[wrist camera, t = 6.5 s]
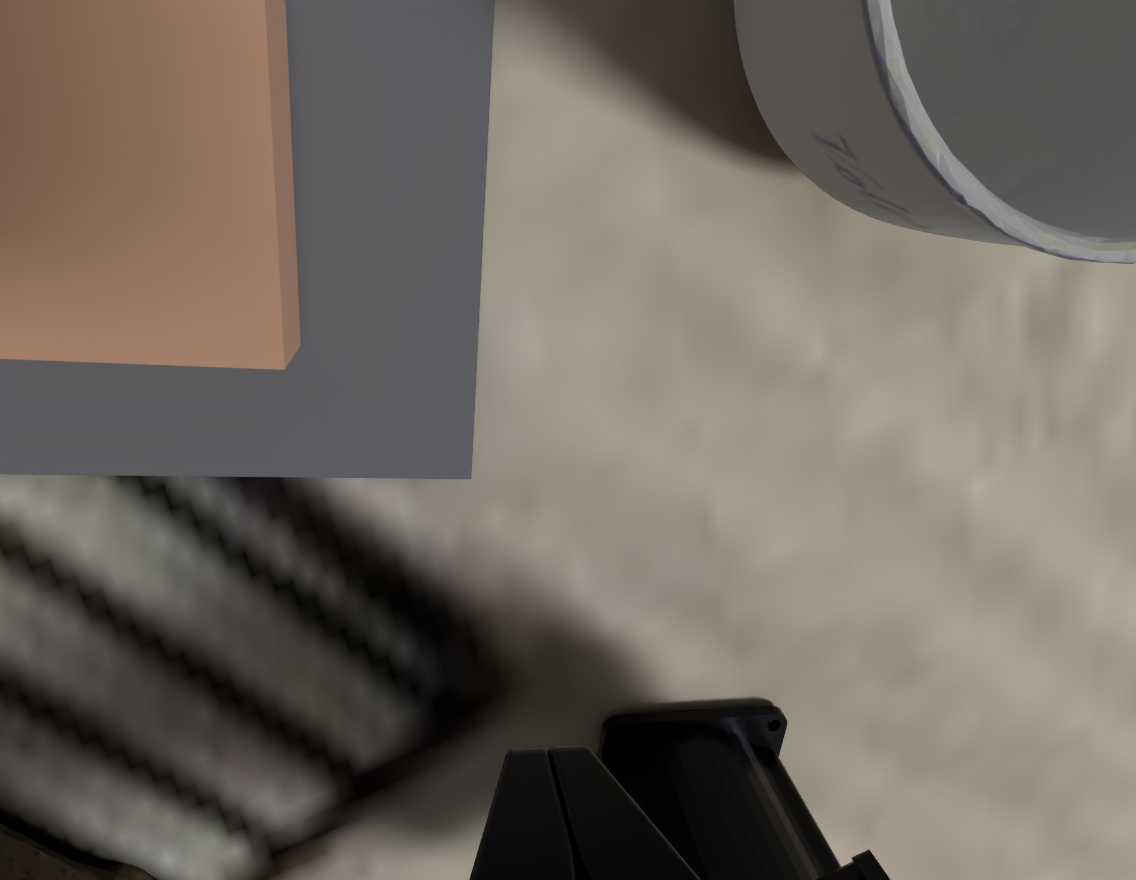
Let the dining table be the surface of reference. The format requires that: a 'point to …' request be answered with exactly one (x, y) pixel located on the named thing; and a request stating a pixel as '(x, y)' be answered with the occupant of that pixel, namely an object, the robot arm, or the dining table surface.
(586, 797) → the robot arm
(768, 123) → the teacup
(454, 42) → the mat
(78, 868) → the hand tool
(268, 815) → the dining table surface
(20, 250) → the tile
